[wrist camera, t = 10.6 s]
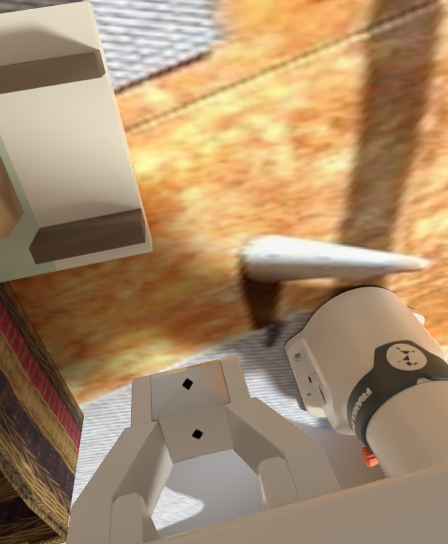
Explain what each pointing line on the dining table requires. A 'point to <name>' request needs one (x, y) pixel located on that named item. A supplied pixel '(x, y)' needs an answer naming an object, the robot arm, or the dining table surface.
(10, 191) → the tan square block
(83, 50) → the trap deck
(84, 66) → the dark brown bars
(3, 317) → the basket
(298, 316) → the dining table surface
